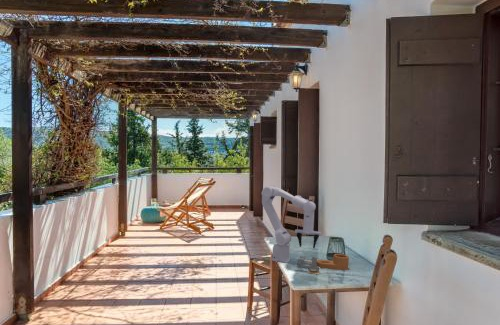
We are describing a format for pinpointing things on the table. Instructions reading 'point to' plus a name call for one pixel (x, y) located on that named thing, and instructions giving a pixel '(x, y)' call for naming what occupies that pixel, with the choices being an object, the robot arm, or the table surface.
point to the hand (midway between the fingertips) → (307, 247)
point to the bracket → (335, 262)
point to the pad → (313, 272)
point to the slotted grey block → (314, 265)
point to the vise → (304, 262)
